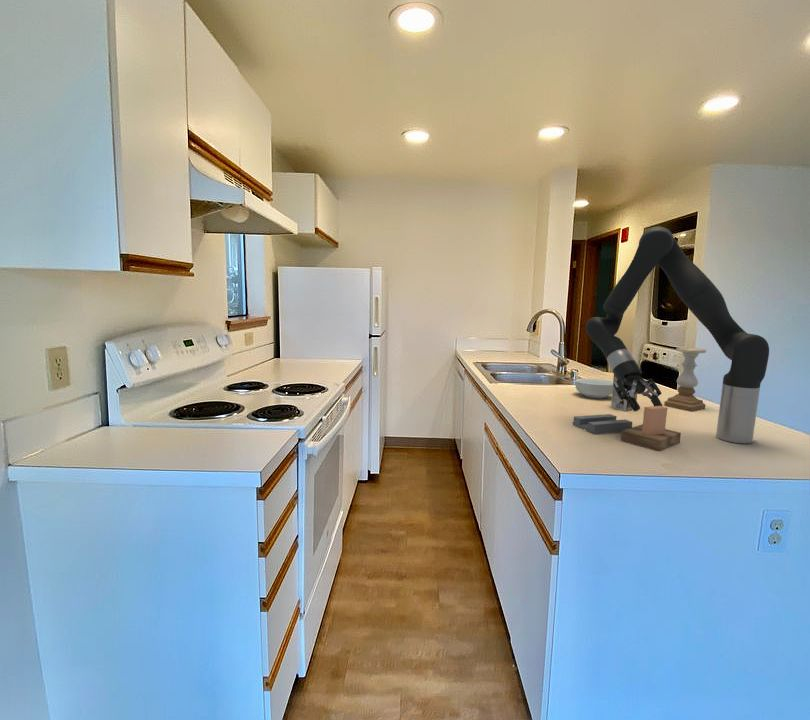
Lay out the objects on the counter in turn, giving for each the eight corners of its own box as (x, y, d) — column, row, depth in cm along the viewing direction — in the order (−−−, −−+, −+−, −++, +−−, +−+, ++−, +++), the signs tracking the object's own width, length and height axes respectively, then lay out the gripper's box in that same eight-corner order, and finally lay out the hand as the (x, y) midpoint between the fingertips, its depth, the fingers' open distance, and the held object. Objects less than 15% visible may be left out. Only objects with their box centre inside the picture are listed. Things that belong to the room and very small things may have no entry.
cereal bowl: (607, 393, 203) (608, 378, 202) (621, 401, 187) (623, 385, 186) (569, 391, 205) (570, 377, 204) (580, 400, 188) (581, 383, 187)
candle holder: (677, 402, 187) (683, 347, 184) (705, 408, 178) (712, 350, 175) (663, 405, 181) (669, 348, 178) (691, 411, 172) (699, 351, 169)
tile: (657, 431, 134) (660, 405, 133) (664, 433, 132) (667, 407, 131) (641, 432, 133) (644, 406, 132) (648, 435, 130) (651, 408, 129)
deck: (642, 432, 143) (643, 423, 142) (679, 442, 134) (680, 432, 134) (620, 440, 134) (621, 431, 134) (658, 450, 126) (659, 440, 125)
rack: (608, 421, 155) (609, 413, 154) (632, 431, 144) (633, 422, 144) (572, 424, 150) (573, 416, 150) (594, 434, 140) (595, 425, 140)
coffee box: (620, 404, 181) (623, 366, 179) (636, 408, 176) (640, 368, 174) (609, 408, 175) (613, 368, 173) (626, 411, 170) (630, 370, 168)
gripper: (612, 359, 138) (637, 404, 129) (648, 358, 142) (675, 401, 133) (599, 373, 144) (622, 416, 135) (634, 372, 148) (659, 414, 139)
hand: (648, 409), depth 134 cm, fingers open, 8 cm apart
